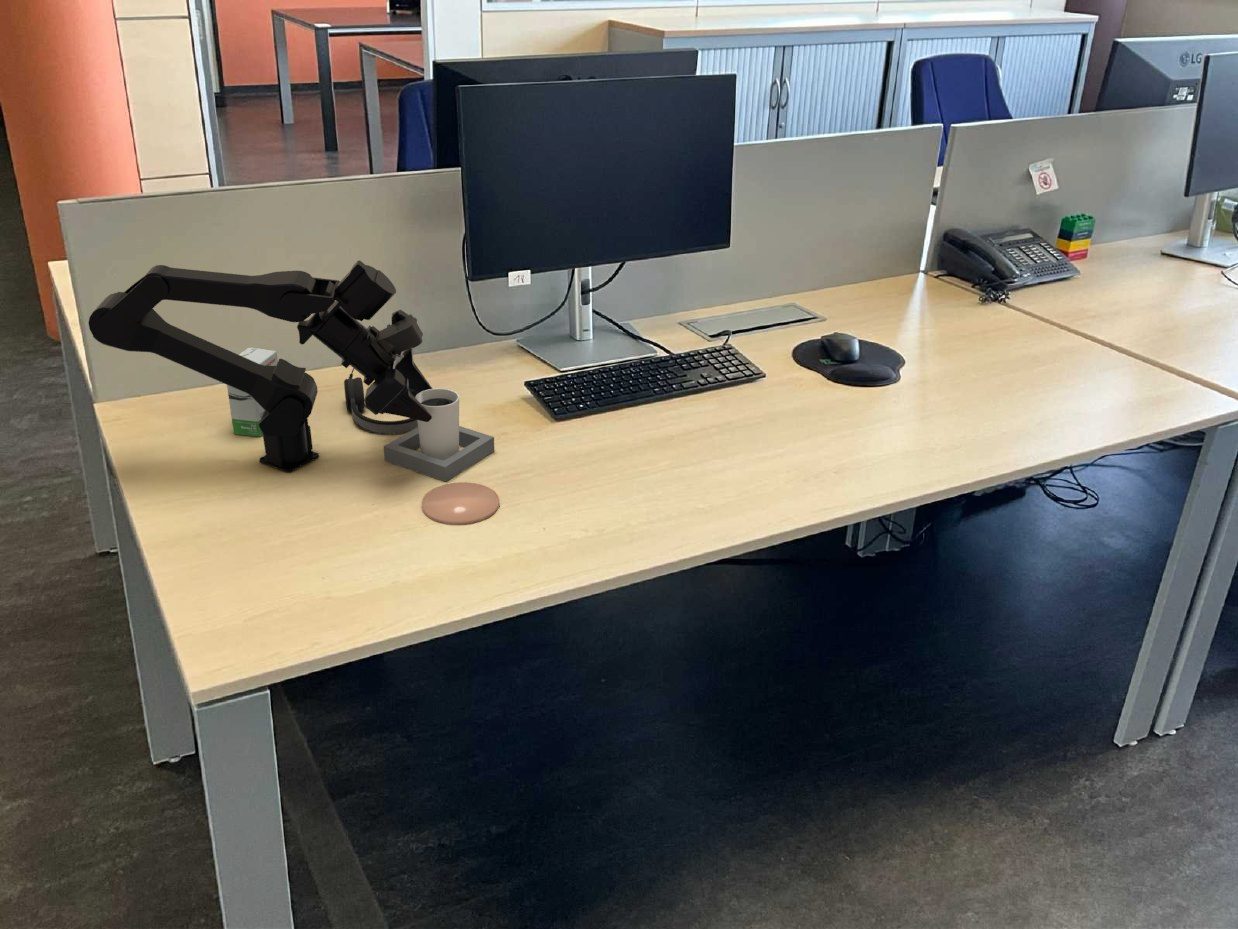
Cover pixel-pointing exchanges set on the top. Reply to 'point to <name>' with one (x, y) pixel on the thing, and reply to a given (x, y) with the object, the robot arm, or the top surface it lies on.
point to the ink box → (249, 397)
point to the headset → (357, 402)
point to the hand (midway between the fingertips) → (431, 406)
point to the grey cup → (439, 423)
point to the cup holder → (443, 470)
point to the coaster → (460, 503)
